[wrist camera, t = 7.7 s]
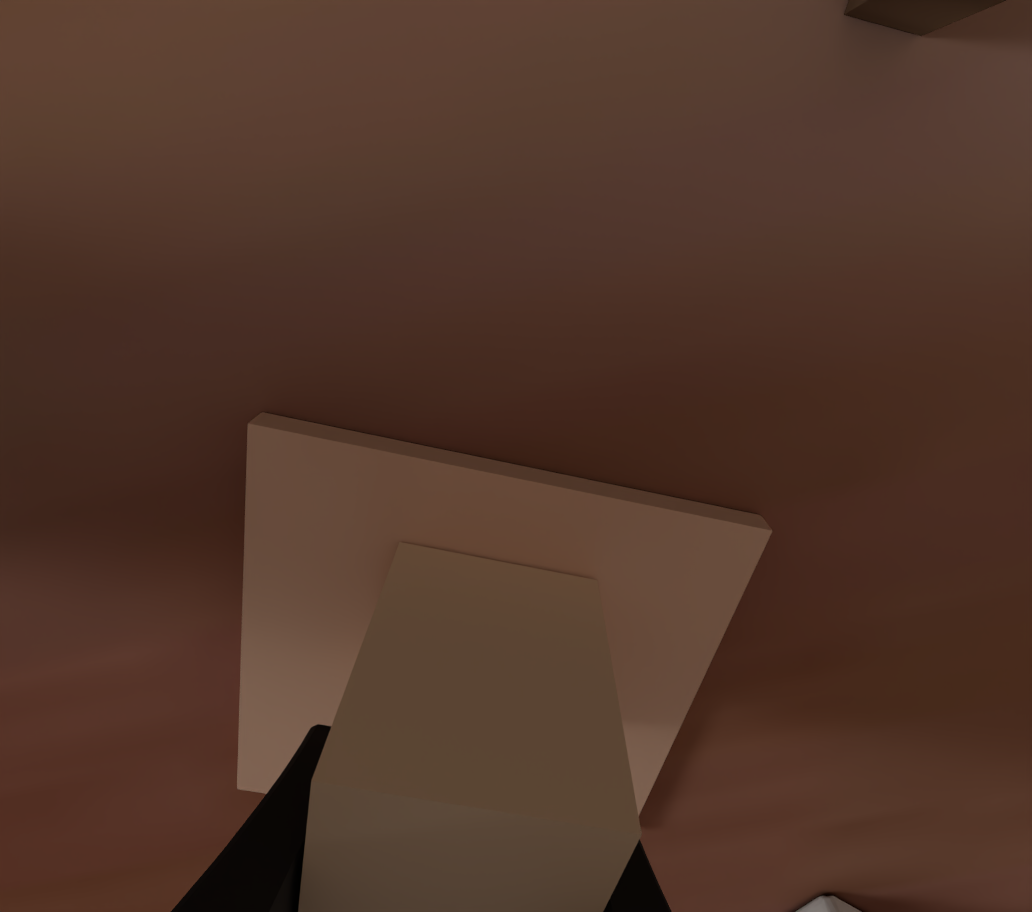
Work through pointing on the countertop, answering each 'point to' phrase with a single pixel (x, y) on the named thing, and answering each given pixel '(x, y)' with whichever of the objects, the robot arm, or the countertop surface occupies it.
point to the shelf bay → (916, 12)
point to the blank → (474, 749)
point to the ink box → (827, 905)
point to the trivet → (476, 532)
